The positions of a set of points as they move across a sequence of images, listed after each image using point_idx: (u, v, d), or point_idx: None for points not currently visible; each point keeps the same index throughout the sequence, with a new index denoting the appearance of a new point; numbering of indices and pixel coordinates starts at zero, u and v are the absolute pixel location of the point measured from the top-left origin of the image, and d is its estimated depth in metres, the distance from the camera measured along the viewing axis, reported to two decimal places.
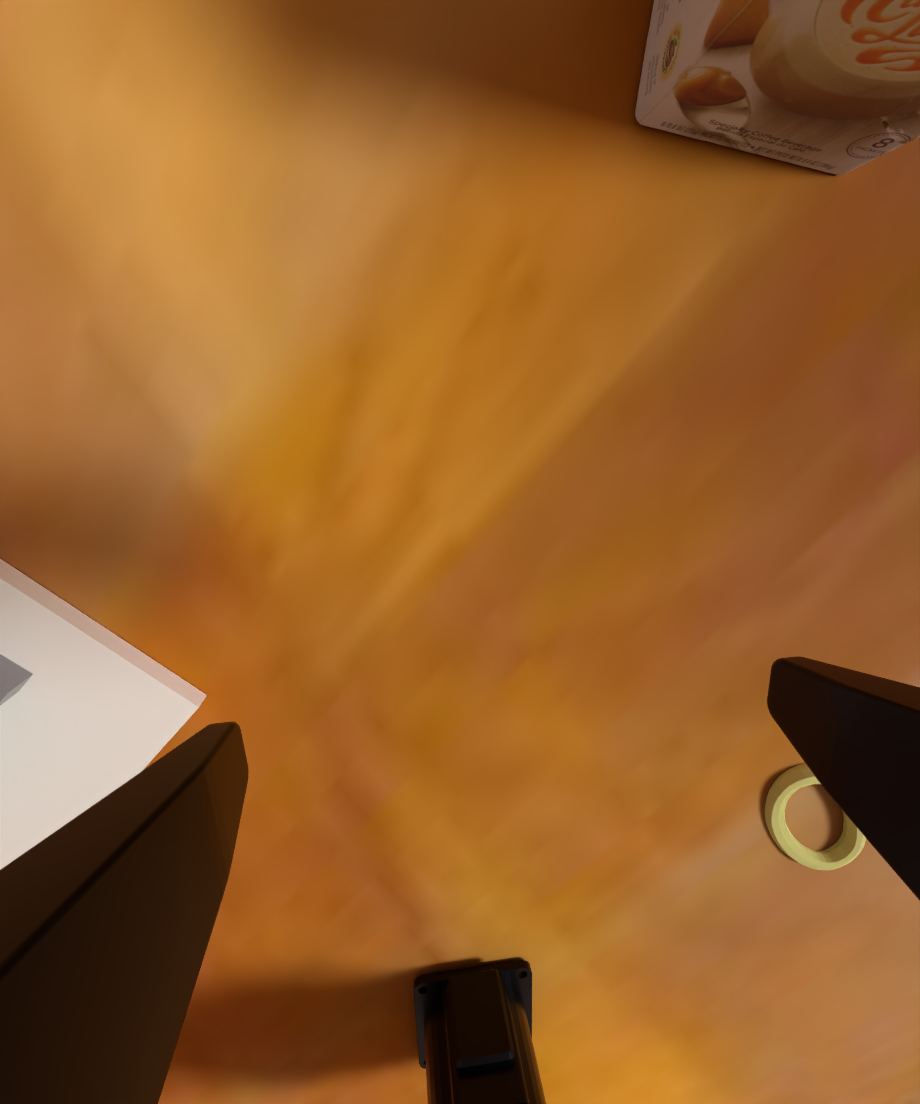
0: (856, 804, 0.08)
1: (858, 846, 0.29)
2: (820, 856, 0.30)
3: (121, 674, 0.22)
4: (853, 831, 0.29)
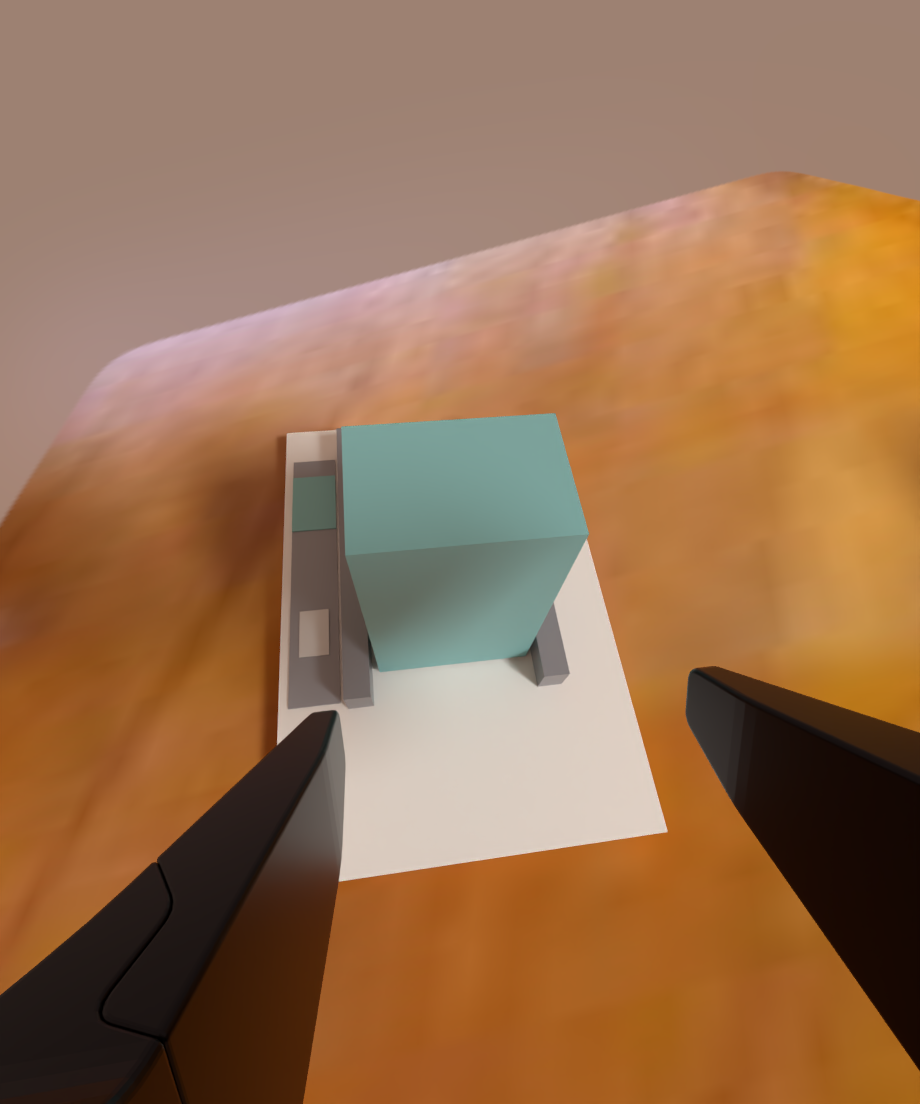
0: (760, 818, 0.08)
1: None
2: None
3: (626, 742, 0.21)
4: None
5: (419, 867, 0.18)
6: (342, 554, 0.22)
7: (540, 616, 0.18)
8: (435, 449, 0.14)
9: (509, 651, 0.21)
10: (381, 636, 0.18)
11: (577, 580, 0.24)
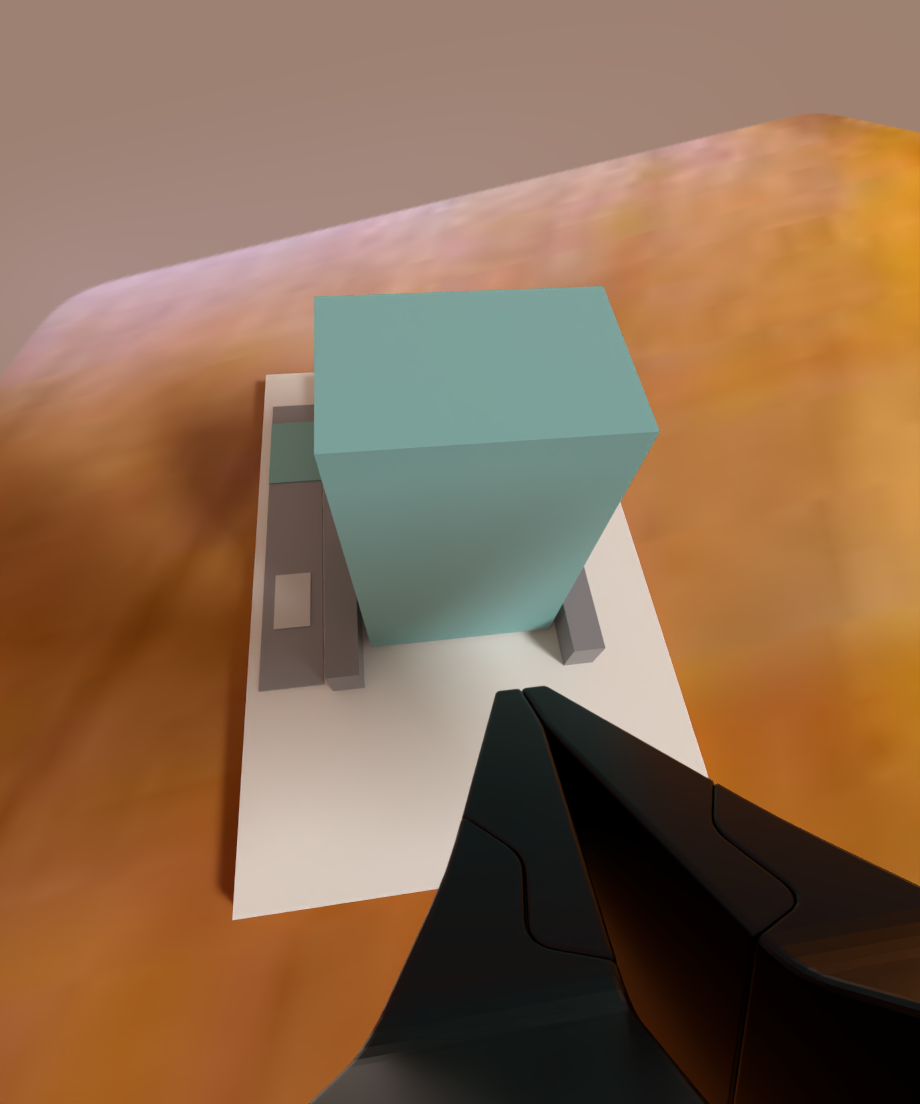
0: None
1: None
2: None
3: (674, 732, 0.17)
4: None
5: (419, 889, 0.15)
6: (327, 506, 0.19)
7: (574, 570, 0.14)
8: (442, 325, 0.10)
9: (529, 622, 0.17)
10: (371, 595, 0.14)
11: (608, 541, 0.20)
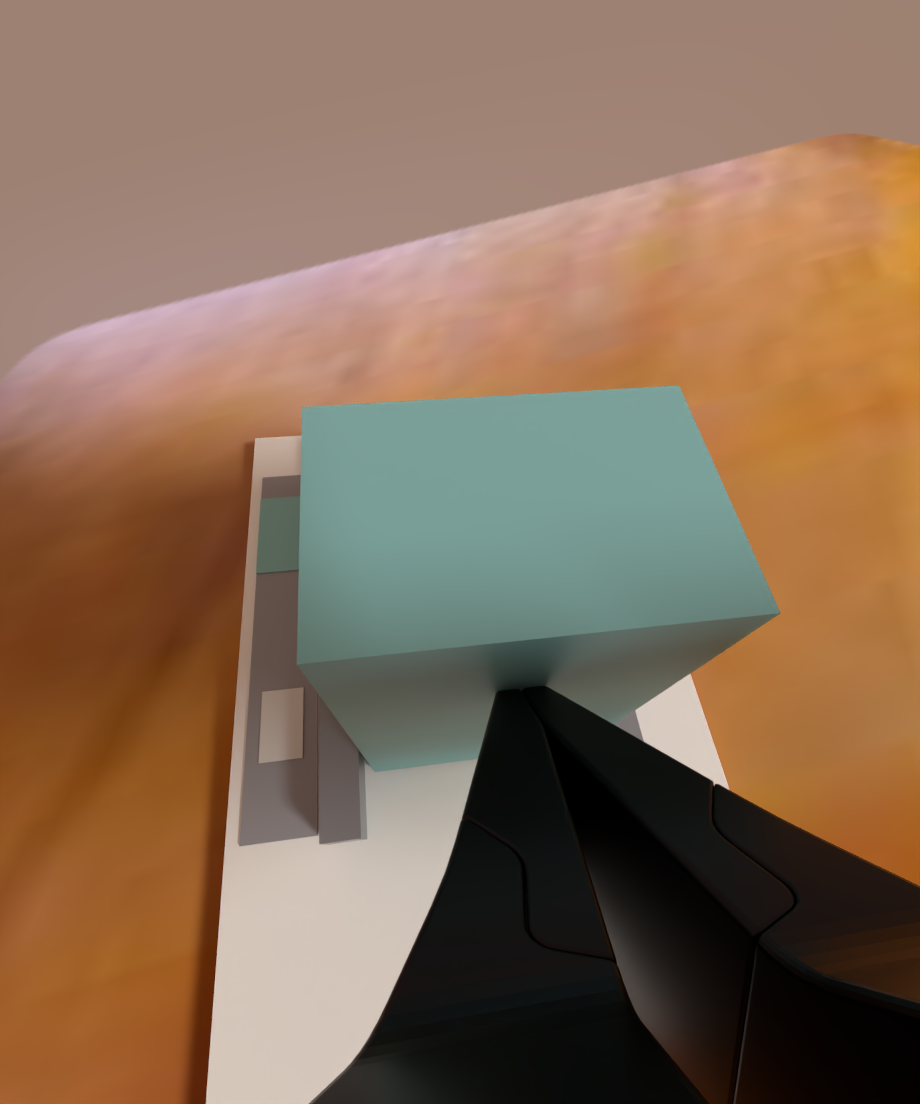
0: None
1: None
2: None
3: None
4: None
5: None
6: None
7: (625, 711, 0.12)
8: (473, 448, 0.08)
9: None
10: (376, 745, 0.11)
11: None
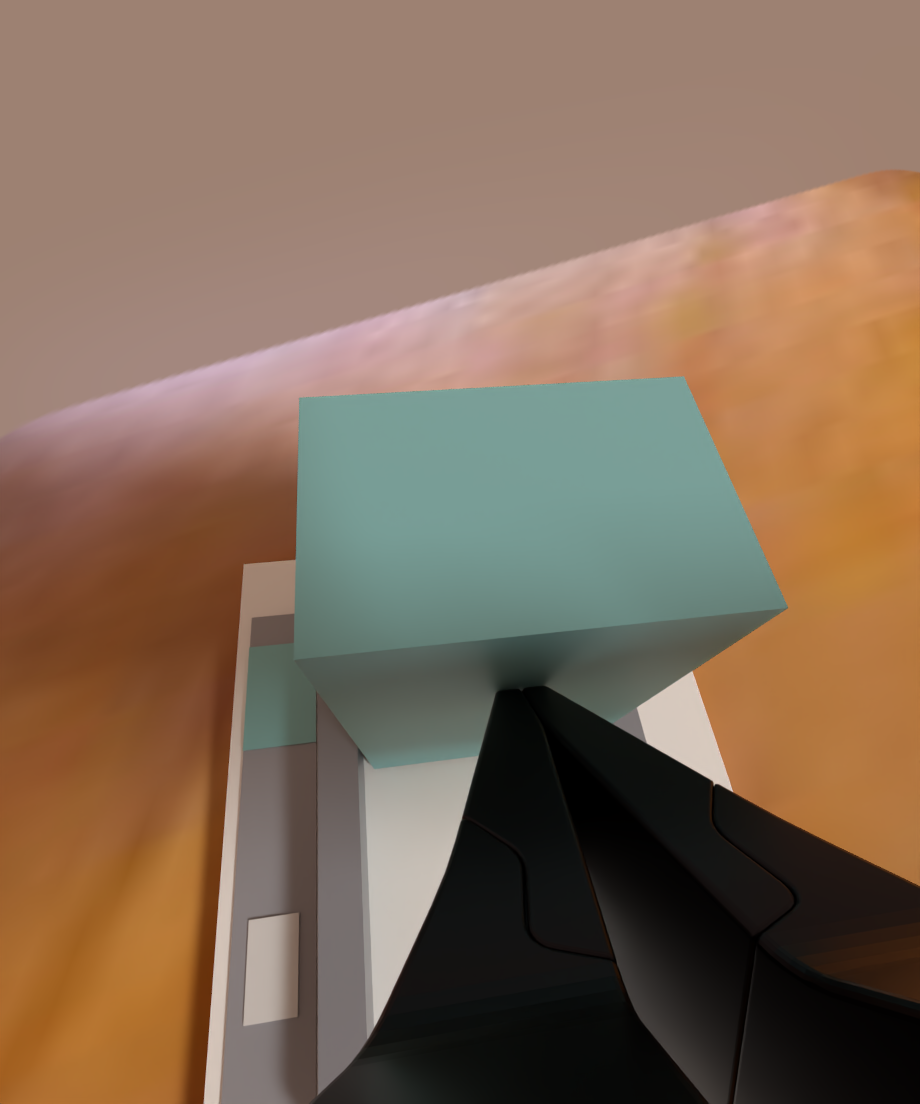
0: None
1: None
2: None
3: None
4: None
5: None
6: (323, 823, 0.13)
7: (627, 708, 0.11)
8: (474, 439, 0.08)
9: None
10: (375, 742, 0.11)
11: None
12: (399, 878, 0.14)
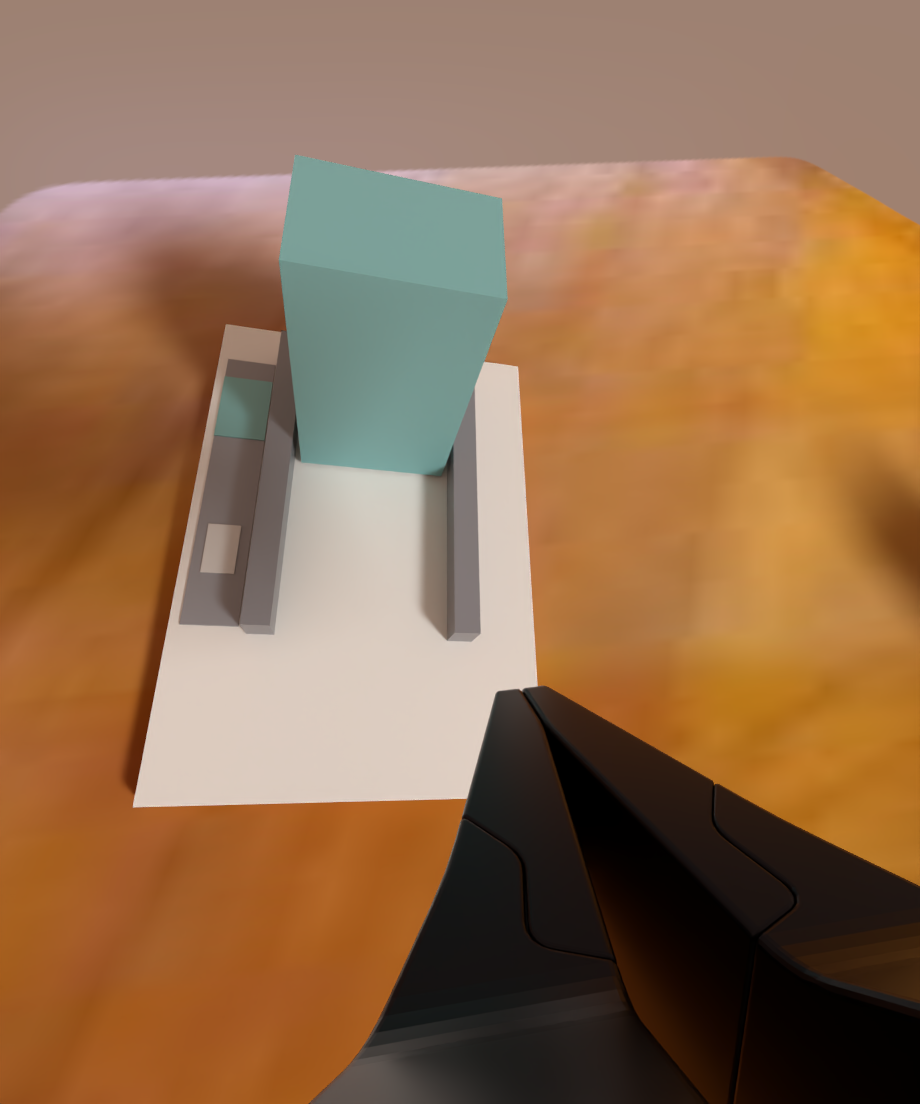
0: None
1: None
2: None
3: None
4: None
5: (293, 801, 0.18)
6: (264, 470, 0.21)
7: (457, 416, 0.20)
8: (382, 197, 0.15)
9: (426, 464, 0.23)
10: (306, 403, 0.19)
11: (508, 541, 0.24)
12: (307, 523, 0.22)
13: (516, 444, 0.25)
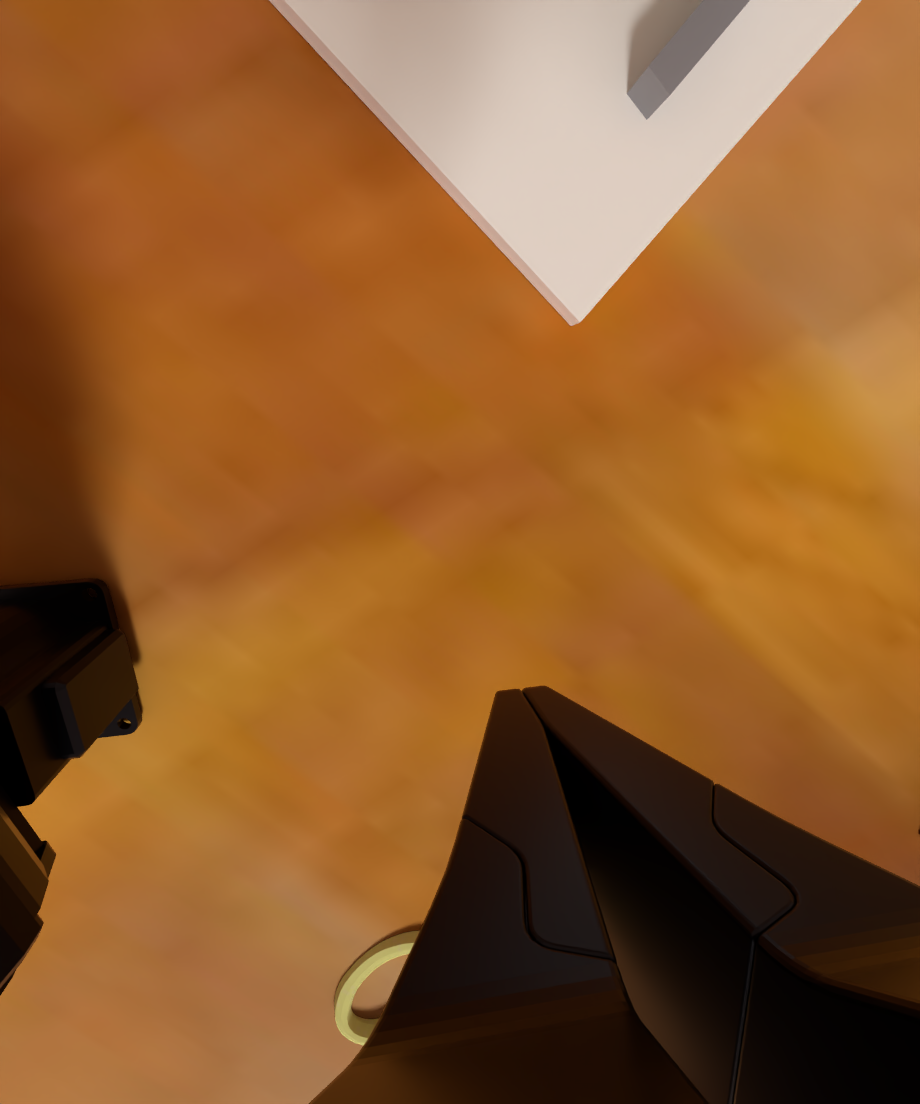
0: None
1: None
2: (349, 1014, 0.28)
3: (632, 233, 0.18)
4: None
5: (380, 102, 0.16)
6: None
7: None
8: None
9: None
10: None
11: (781, 48, 0.17)
12: None
13: None
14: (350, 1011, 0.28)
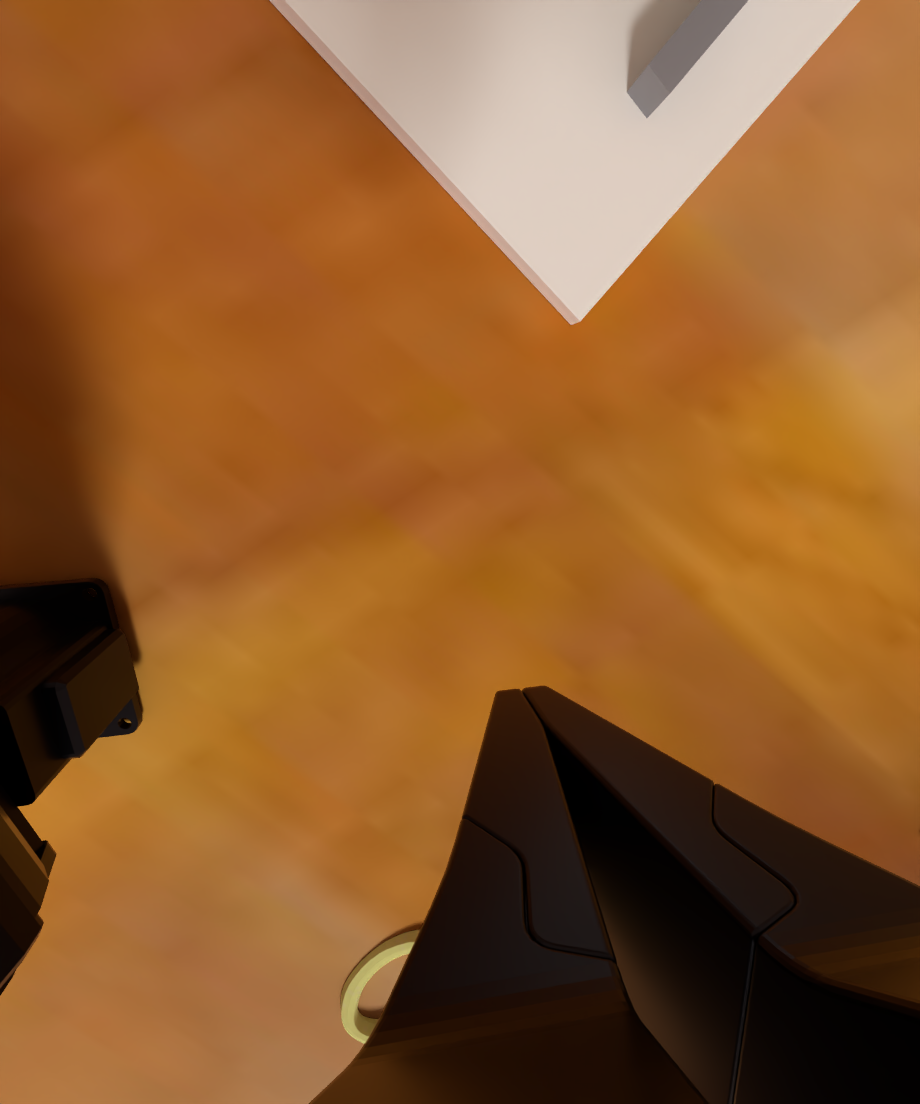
0: None
1: None
2: (356, 1014, 0.28)
3: (632, 232, 0.18)
4: None
5: (380, 101, 0.16)
6: None
7: None
8: None
9: None
10: None
11: (781, 46, 0.17)
12: None
13: None
14: (356, 1011, 0.28)
